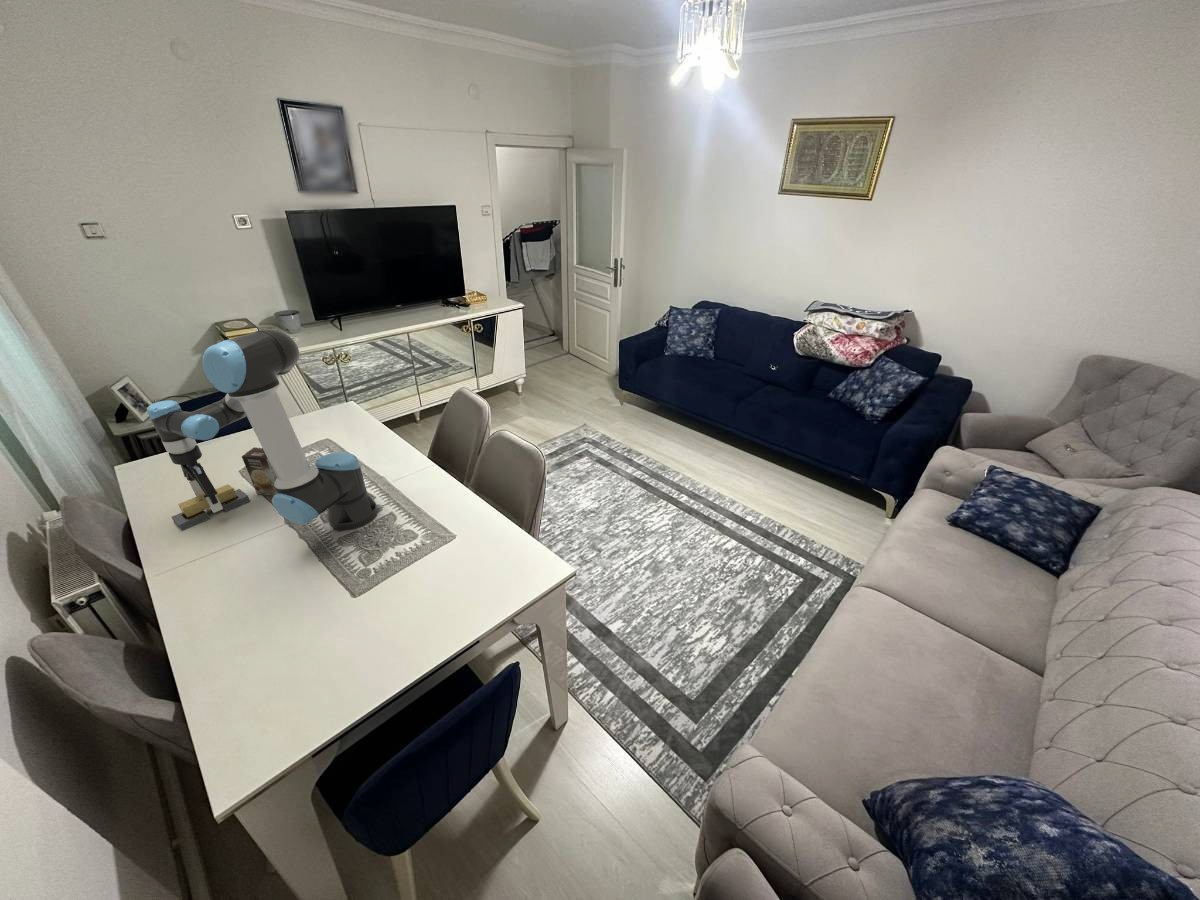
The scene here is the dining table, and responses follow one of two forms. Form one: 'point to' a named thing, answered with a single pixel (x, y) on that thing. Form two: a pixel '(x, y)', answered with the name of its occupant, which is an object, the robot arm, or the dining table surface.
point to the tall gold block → (201, 503)
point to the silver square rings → (203, 516)
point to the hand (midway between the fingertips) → (209, 503)
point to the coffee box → (260, 471)
